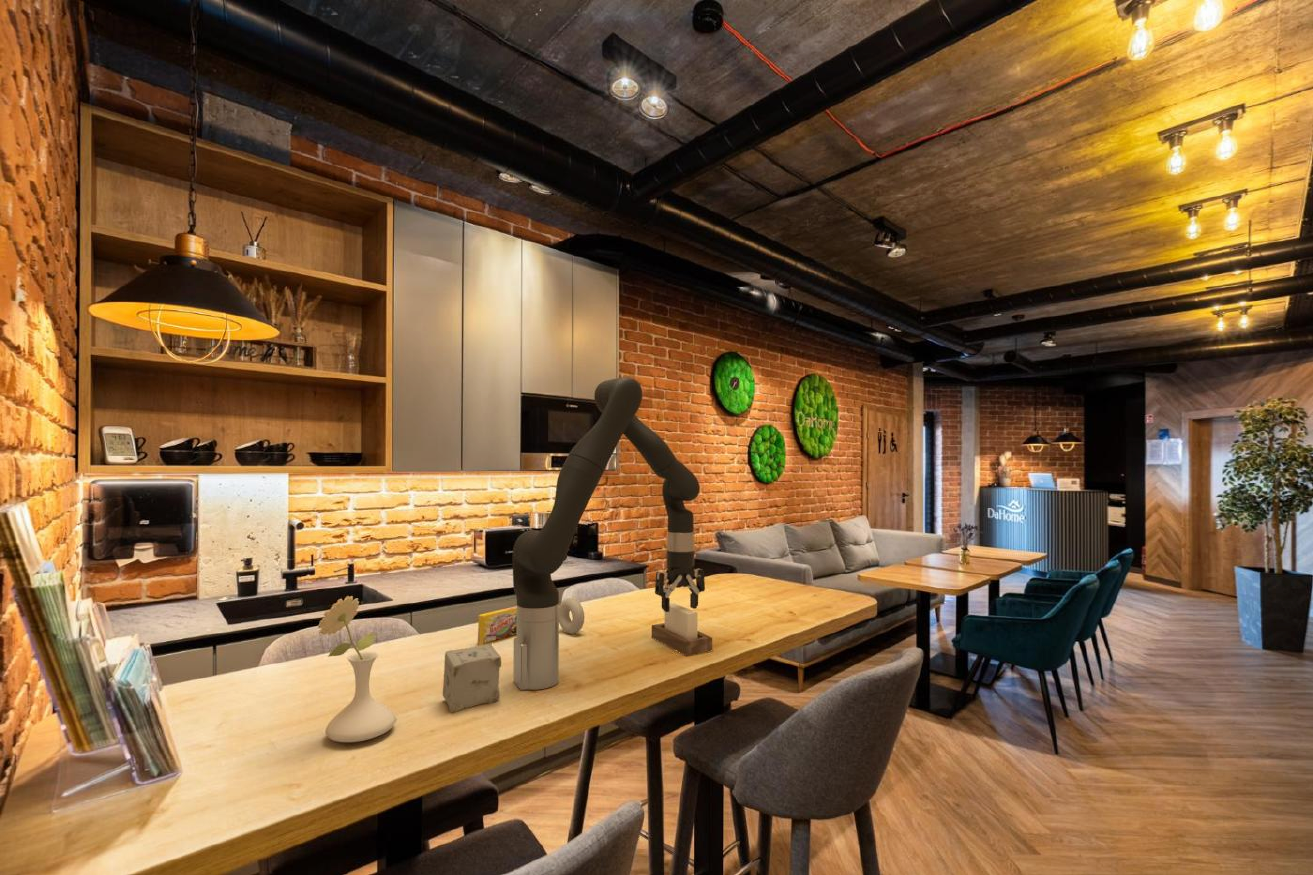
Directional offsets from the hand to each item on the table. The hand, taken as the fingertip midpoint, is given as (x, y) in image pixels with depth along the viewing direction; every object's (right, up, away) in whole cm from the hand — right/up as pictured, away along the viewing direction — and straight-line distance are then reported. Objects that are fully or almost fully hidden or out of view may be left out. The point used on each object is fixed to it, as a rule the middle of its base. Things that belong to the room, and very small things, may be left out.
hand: (680, 609), depth 158 cm
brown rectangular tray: (0, -9, 0) cm, 9 cm away
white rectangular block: (0, -9, 0) cm, 9 cm away
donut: (-31, -10, +10) cm, 34 cm away
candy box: (-48, -10, +5) cm, 50 cm away
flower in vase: (-60, -7, -53) cm, 80 cm away
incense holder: (-44, -8, -38) cm, 59 cm away
